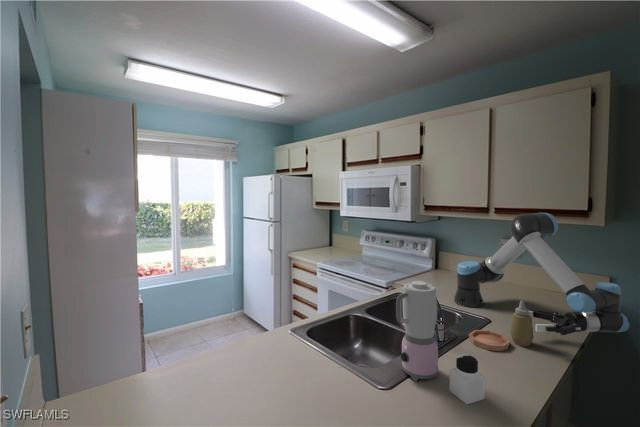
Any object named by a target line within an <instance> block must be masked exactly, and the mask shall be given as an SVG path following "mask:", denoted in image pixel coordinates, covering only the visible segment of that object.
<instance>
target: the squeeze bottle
mask: <svg viewBox="0 0 640 427" xmlns="http://www.w3.org/2000/svg"><path fill="white" fill-rule="evenodd" d="M529 311H530V309H527V308H526V305H525V301H524V300H520V301H519V305H518V307H515V311H514V312H513V313H512V316H511V324H510V329H509V333H510V336H511V338H512V341H513V344H516V345H518V346H521V347H530V345H532V344H531V343H532V342H533V339H534V328H533V318H532V317H531V316H530V315H529Z"/></svg>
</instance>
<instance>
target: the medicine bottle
mask: <svg viewBox="0 0 640 427" xmlns="http://www.w3.org/2000/svg"><path fill="white" fill-rule="evenodd" d="M455 360H456V361H455V368H451V369H449V392H451V393H452V394H453V395H454V396H455V397H457V398H458V399H459V400H460V401H462V402H463V403H464V404H465V405H470V404H474V403H476V402H480V401H483V400H485V397H486V392H485V390H486V389H485V388H486V387H485V386H486V384H485V383H486V382H485V380H486V379H485V376H484V375H482V374H481V373H479V372H478V371H479V362H478V360H477V358H476V357H474V356H472V355H469V354H464V353H463V354H457V356H456V357H455Z"/></svg>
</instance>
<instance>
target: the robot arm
mask: <svg viewBox="0 0 640 427" xmlns="http://www.w3.org/2000/svg"><path fill="white" fill-rule="evenodd" d="M509 227H510V232H511V234H512V236H511V238H509V240H507V242H505V243H504V244H503V245H502V246H501V247H500V248H499V249H498V250H497V251H496V252H495V253H494V254H493V255H492V256H487V257H486V258H485V259H484V260H482V262H479V261H475V260H466V261H465V260H464V261H461V262H459V263H458V264H457V269H456V270H457V271H456V273H457V275H456V276H457V281H456V282H457V285H456V286H457V288H456V291H455V294H454V297H453V300H454V301H455V302H457V303H459V304H461V305H460V306H462V305H464V306H463V307H466V306H469V307H468V308H480V307H483V306H484V299H483V296H482V293H481V285H482V284H490V283H497V282H499V281H501V280H502V279H503V278H504V277H505V272H506V267H508V266H509V265H510V264H511V263H512V262H514V261H515V260H516V259H517V258H518V257H519V256H521V255H522V254H523V253H524V252H525V251H526V250H527V251H528V252H529V253H530V255H531V256H532V257H533V258H534V260H535V261H537V263H538V264H539V265H540V266H541V267H542V268H543V270H544V271H545V272H546V273H547V274H548V275H549V277H550V278H551V279H552V280H553V282H554V283H555V284H556V285H557V286H558V287H559V288H560V289H561V290H562V292H563V293H564V294H565V295H566V296H567V297H566V303H567V306H568V307H569V308H570V309H571V311H567V312H566V313H565V314H564V315H563V314H559V312H557V311H548V310H542V309H535V308H530V309H529V315H530V316H531V317H532V319H533V318H537V319H541V320H546V321H549V322H551V323H550V324H548V323H546V324H545V323H535V332H536V333H537V332H538V333H557V334H560V335H561V336H566V335H569V334H573V333H581V332H587V333H591V332H600V333H605V332H606V333H621V332H622V333H623V332H626V331H628V330H629V328H630V322H629V319H628V317H627V316H626V315H625V314H623V313H622V312H621V309H622V308H621V306H622V288H621V286H620V285H618V284H616V283H613V282H606V281H599V282H596V283H595V286H594V289H590V288H589V287H587V285H586V284H584V282H583V281H582V280H581V279H580V277H578V275H576V273H574V271H573V270H572V269H571V268H570V267H569V266H568V265H567V264H566V263H565V262H564V261H563V259H562V258H561V257H560V256H559V255H558V254H557V253H556V252H555V251H554V250H553V248H551V247H550V246H549V245H548V243H547V242H546V241H544V239H545V238H546V237H549V238H550V237H552V236H554V235H555V234H557V232H558V230H559V223H558V220H557V218H556V217H555V216H554V215H553V214H551V213H548V212H535V213H522V214H521V213H520V214H518V215H516V216H515V217H514V218H512V220H511V222H510V226H509ZM455 302H454V303H455ZM459 304H458V305H459ZM572 310H573V311H572ZM552 323H553V324H552Z"/></svg>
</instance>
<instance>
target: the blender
mask: <svg viewBox="0 0 640 427" xmlns="http://www.w3.org/2000/svg"><path fill="white" fill-rule="evenodd" d="M437 303H438V301H437V288H436V286H435V285H434V284H430V283H427V282H425V281H423V280H413V281H412V282H408V283H405V284H404V285H403V287H402V293H401V294H399V295H398V296H397V297H396V303H395V306H396V307H395V309H396V315H395V316H396V321H397V322H398V323H399V324H404V329H405V331H404V332H405V334H404V336H403V337H402V341H401V354H400V358H401V367H402V368H401V369H403V372H405V373H406V374H407V375H409V376H410V378H411V380H412V379H414V380H413V381H415V380H418V381H419V379H422V380H424V379H425V380H429V379H433V378H436V377H437V376H438V375H439V346H438V343H437V340H436V337H435V329H436V322H437V316H438V315H437V313H438V312H437V311H438V309H437V308H438V306H437V305H438V304H437Z"/></svg>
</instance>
